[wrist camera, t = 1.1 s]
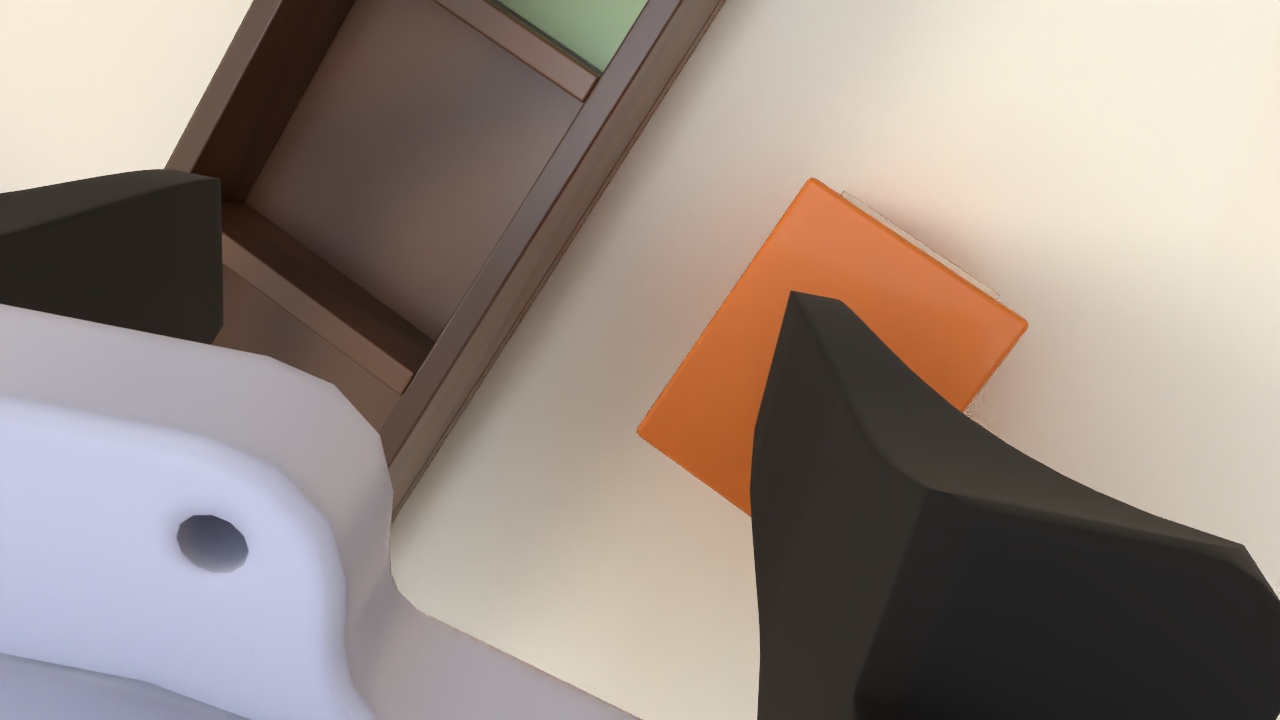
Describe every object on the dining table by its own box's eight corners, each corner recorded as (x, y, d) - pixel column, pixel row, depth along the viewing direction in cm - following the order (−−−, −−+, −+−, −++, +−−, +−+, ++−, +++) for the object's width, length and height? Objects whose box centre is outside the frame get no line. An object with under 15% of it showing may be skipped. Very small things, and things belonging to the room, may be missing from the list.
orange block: (993, 295, 22) (1036, 318, 16) (849, 487, 23) (835, 580, 17) (833, 187, 23) (814, 169, 16) (699, 381, 24) (633, 433, 18)
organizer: (846, -189, 22) (841, -253, 19) (328, 623, 27) (262, 669, 24) (545, -377, 23) (497, -463, 20) (96, 441, 28) (6, 464, 25)
